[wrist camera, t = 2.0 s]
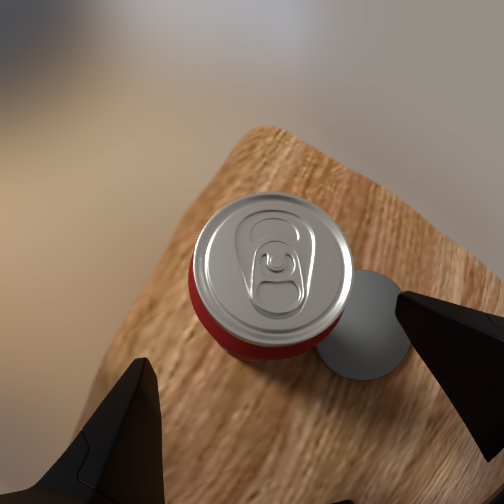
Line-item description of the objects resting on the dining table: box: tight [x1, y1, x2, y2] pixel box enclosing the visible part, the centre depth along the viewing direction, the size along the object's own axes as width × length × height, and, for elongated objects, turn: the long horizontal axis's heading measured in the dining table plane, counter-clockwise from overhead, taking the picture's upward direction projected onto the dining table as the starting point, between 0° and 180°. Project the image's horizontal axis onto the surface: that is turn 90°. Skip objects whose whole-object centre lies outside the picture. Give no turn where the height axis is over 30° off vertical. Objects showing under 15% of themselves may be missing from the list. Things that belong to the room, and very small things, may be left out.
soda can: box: [188, 192, 354, 362], centre depth 13 cm, size 5×5×12 cm
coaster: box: [315, 270, 411, 380], centre depth 19 cm, size 8×8×1 cm
